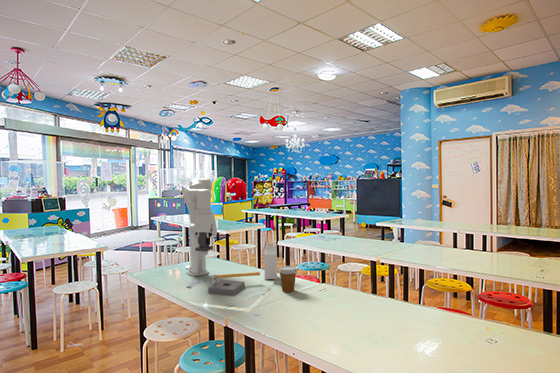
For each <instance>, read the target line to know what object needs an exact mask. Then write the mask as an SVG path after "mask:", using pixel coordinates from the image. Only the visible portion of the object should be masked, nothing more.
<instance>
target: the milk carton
mask: <svg viewBox="0 0 560 373" xmlns="http://www.w3.org/2000/svg"><path fill="white" fill-rule="evenodd" d="M277 250H278V249H277V246H275V245H274V246H264V254H263V255H264V256H263V257H264V258H263V259H264V263H263V264H264V265H263V266H264V280H265V279H275V280H276V281H277V280H278V254H277V253H278V251H277ZM275 280H274V281H275Z"/></svg>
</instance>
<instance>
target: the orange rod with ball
mask: <svg viewBox="0 0 560 373" xmlns="http://www.w3.org/2000/svg"><path fill="white" fill-rule="evenodd" d="M252 276H254V277H255V276H261V272H260V271H255V272H244V273H243V272H241V273H227V274H212V275H211V279H216V280H217V279H227V278H238V277H239V278H240V277H252Z"/></svg>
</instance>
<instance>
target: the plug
mask: <svg viewBox="0 0 560 373" xmlns="http://www.w3.org/2000/svg"><path fill="white" fill-rule="evenodd" d="M206 238H207V235H206V233H204V232H202V233H199V247H197V248H195V251H201V255H206V256H207V255H208V254H209V252H210V251H211V250H213V249H214V246H213V245H210V244H209V245H206Z"/></svg>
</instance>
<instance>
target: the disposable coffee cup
mask: <svg viewBox="0 0 560 373" xmlns="http://www.w3.org/2000/svg"><path fill="white" fill-rule="evenodd" d="M297 271H298V269H297V267H296V266H294V265H283V266H280V267H279V269H278V272H279V276H280V284H281V291H282V292H284V293H293V292H295V284H296V277H297Z"/></svg>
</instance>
